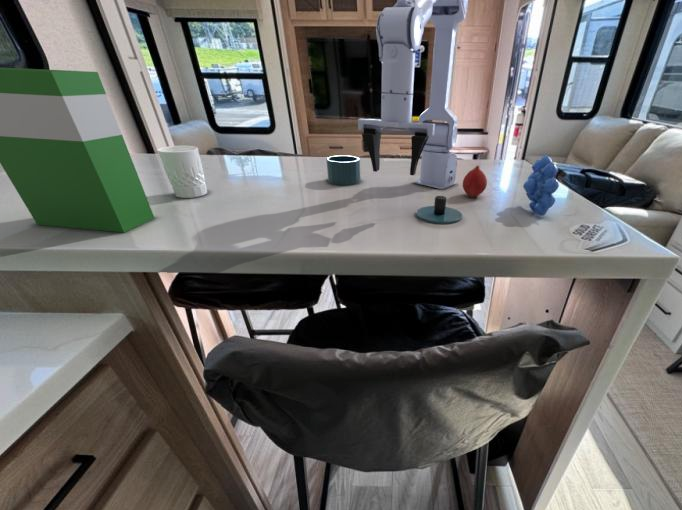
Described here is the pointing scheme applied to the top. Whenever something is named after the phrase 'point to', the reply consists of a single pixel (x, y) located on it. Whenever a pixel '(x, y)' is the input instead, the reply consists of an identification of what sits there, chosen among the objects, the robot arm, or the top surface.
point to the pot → (343, 170)
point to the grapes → (542, 185)
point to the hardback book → (68, 151)
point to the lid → (439, 212)
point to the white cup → (184, 170)
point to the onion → (474, 182)
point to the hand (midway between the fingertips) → (394, 172)
